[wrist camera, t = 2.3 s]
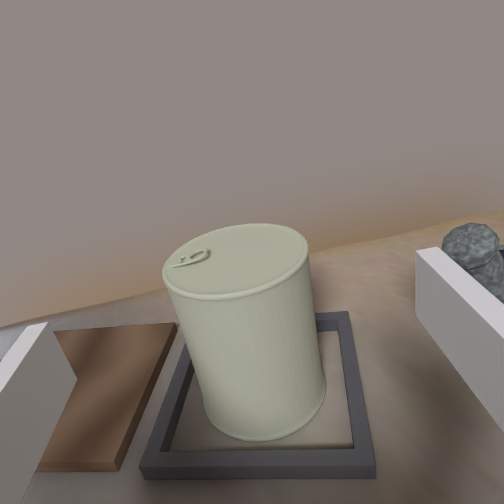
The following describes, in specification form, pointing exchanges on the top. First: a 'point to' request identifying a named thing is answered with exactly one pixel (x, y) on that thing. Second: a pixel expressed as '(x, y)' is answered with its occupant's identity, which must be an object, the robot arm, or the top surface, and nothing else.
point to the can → (250, 328)
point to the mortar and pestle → (478, 255)
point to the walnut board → (105, 394)
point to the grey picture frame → (264, 461)
